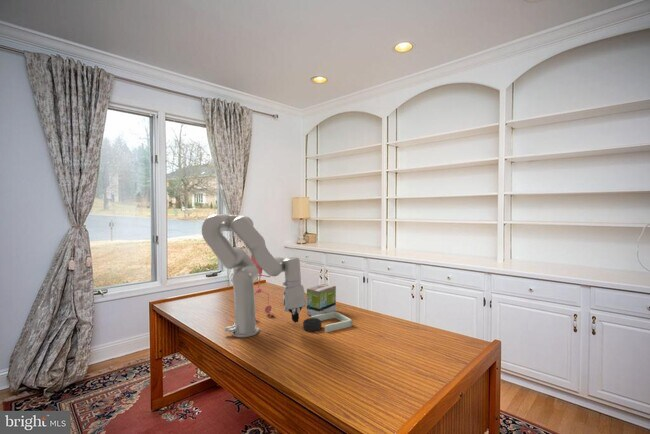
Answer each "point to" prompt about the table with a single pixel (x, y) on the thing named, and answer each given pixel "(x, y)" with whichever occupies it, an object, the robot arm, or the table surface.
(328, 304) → the tea box
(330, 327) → the frame
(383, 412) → the table surface
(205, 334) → the table surface
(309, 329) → the smart speaker
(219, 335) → the table surface
